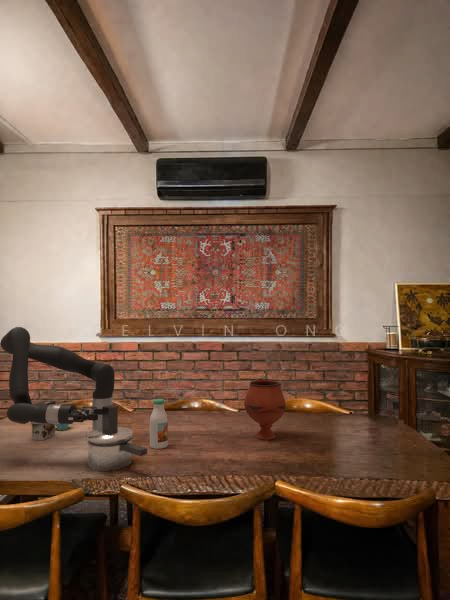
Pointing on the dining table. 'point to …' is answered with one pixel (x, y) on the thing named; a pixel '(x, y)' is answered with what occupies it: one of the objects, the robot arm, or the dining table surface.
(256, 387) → the goblet
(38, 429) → the coffee box
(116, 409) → the cooker lid
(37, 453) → the dining table surface
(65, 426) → the cupcake
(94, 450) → the cooker pot
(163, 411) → the milk bottle
